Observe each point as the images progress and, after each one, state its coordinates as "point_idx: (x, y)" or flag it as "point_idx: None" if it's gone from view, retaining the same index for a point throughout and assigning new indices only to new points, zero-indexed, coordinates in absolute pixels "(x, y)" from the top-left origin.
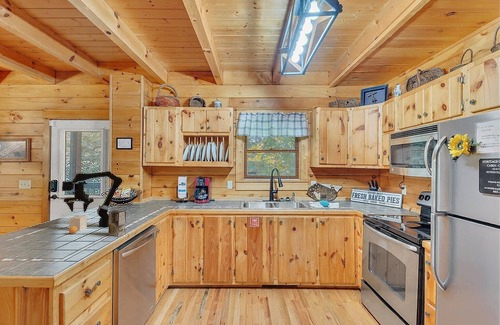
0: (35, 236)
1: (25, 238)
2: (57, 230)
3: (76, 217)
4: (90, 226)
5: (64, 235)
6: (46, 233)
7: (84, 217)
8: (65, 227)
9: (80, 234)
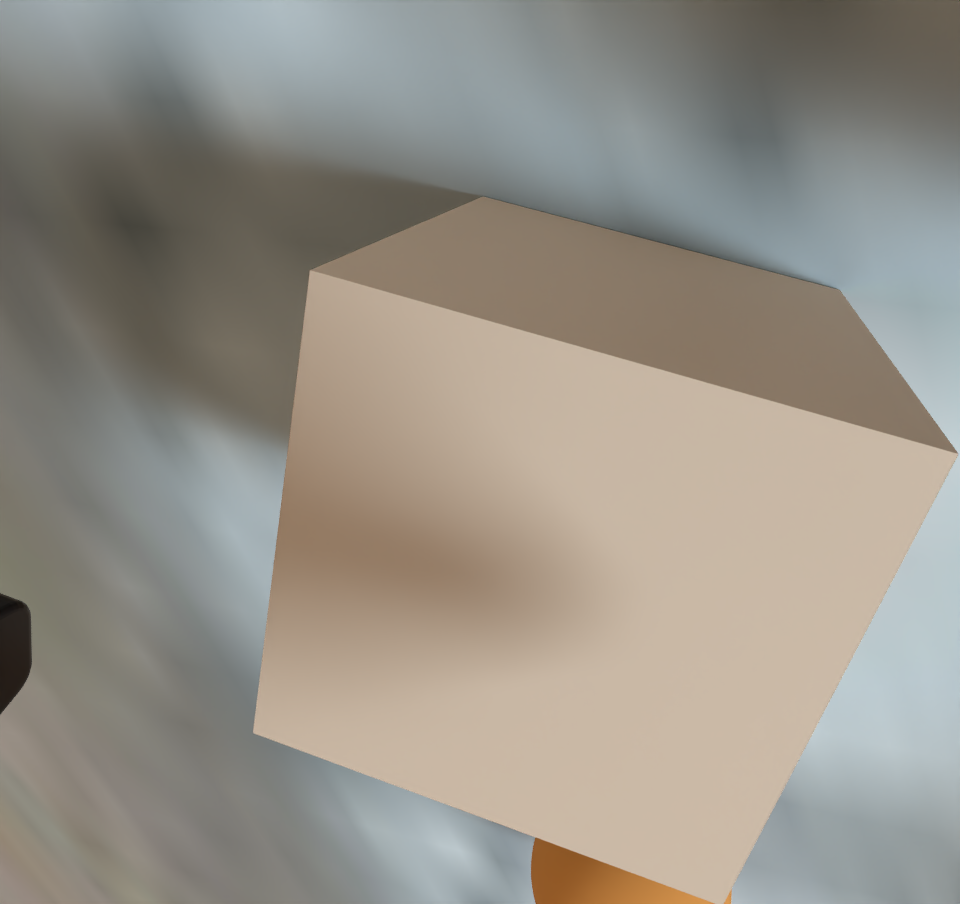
0: (76, 807)
1: (24, 871)
2: (162, 453)
3: (480, 686)
4: (930, 2)
5: (516, 878)
6: (112, 661)
7: (843, 649)
8: (160, 127)
9: (829, 898)
